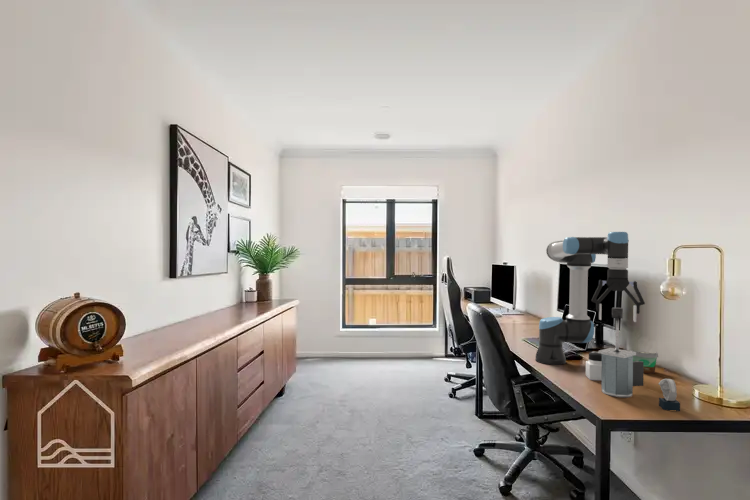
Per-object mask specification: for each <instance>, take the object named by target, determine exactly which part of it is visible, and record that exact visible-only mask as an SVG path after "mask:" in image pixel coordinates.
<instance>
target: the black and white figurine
mask: <svg viewBox="0 0 750 500" xmlns="http://www.w3.org/2000/svg"><path fill="white" fill-rule="evenodd" d="M585 376H586V378H588V380H590V381H601V382H602V354H600V353H598V351H589V353H588V360H586V361H585Z"/></svg>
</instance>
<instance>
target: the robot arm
mask: <svg viewBox="0 0 750 500" xmlns="http://www.w3.org/2000/svg"><path fill="white" fill-rule="evenodd" d="M545 251H546V255H547V257H548V258H549V259H550V260H552V261H554V262H557V263H564V264H565V263H566V266H567V268H569V303H568V305H569V307H568V308H569V309H568V314H567V315H566V316H565V319H563V318H562V317H561V316H548V317H543V318H541V319H540V320H539V323H538V331H539V332H538V348H537V351H536V354H535V361H536V362H538V363H541V364H545V365H554V366H557V365H565V364H566V363H567V359H566V355H565V352H564V349H563V348H564V347H563V343H578V344H586V343H590V342H591V341H592V340H593V338H594V334H595V323H594V322H593V320H591V317H590V316H588V287H589V286H588V280H589V279H588V277H589V269H590V268H591V267H592V264H594V263H595V262H596V259H597V255H607V268H608V269H607V279H606V280H602V279H599V280H598V285H597V288H596V289H595V292H594V294H593V296H592V298H591V302H592V303H594V304H595V311H596V312H598V320H600V321H602V310H603V309H602V306H603V305H602V303H601V302H602V301H603V300H604V299H605V298H606V297H607V296H608V295H609V293H610V292H612V291H613V292H617V291H618V292H625V294H626V295H627V296H628V297H629V298H630V299H631V301H632V302H633V303H634V304H635V305H633V308H632V309H633V314H632V315H633V318H632V319H633V322H634V323H637V315H638V314H640V312H641V310H640V307H641V306H643V305H645V304H646V303H645V300H644V298H643V297H642V294H641V292H640V290H639V287H638V282H637V281H635V280H633V281H629V270H628V268H629V234H628V232H627V231H610V232H608V233H607V236H604V237H603V236H599V237H598V236H595V237H594V236H593V237H591V236H589V237H587V236H586V237H585V236H584V237H583V236H579V237H576V236H569V237H564V240H555V241H553V242H552V241H551V242H550V243H549V244H548V245H547V247H546V250H545ZM605 284H606V285H607V288H606V289H605V291H604V292H603V293H602V294H601V295H600V296H599V294H600V293H601V290H602V288H603V286H605ZM628 286H631V287H632V288H633V290H634V292H635V294H636V296H637V298H638V300H639V301H638V300H637V298H636V297H635V296H634V295H633V294H632V293H631V292H630V291H629V289H628ZM598 296H599V298H598ZM597 298H598V299H597Z"/></svg>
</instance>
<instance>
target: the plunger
mask: <svg viewBox="0 0 750 500" xmlns="http://www.w3.org/2000/svg"><path fill="white" fill-rule="evenodd" d="M611 318H612V319H615V347H614V348H615V352H619V349H620V319H623V318H624V308H622V307H612V308H611Z"/></svg>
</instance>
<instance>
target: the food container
mask: <svg viewBox="0 0 750 500" xmlns="http://www.w3.org/2000/svg"><path fill="white" fill-rule="evenodd" d="M630 351H632V352H636V355H633V361H642V362H644V373H643V374H646V375H647V374H648V375H649V374H651V375H653V374H655V372H656V365H657V358H659V353H658V351H656V352H649V351H648V352H647V351H634V350H632V349H630Z"/></svg>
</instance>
